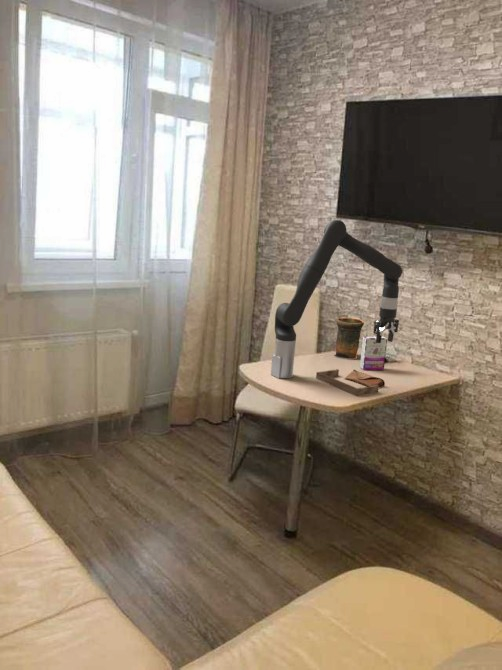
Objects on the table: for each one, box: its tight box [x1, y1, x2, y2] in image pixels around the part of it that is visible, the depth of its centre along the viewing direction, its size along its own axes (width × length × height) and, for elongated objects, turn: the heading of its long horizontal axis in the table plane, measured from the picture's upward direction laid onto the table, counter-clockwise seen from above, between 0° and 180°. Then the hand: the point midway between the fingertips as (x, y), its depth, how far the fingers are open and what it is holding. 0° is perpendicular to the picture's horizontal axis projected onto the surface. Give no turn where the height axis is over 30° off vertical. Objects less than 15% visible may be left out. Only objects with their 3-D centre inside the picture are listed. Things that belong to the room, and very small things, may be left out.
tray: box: [315, 368, 380, 397], centre depth 246 cm, size 13×26×3 cm, turn 35°
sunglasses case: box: [343, 369, 386, 389], centre depth 253 cm, size 18×7×7 cm, turn 43°
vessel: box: [333, 317, 365, 361], centre depth 295 cm, size 14×14×20 cm
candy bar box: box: [359, 335, 388, 371], centre depth 274 cm, size 11×5×16 cm, turn 101°
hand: (384, 342), depth 255 cm, fingers open, 7 cm apart
